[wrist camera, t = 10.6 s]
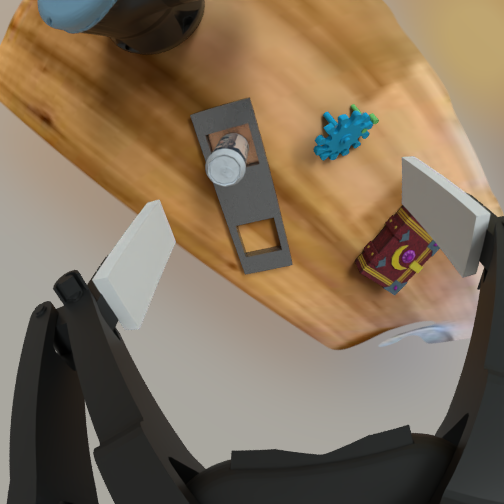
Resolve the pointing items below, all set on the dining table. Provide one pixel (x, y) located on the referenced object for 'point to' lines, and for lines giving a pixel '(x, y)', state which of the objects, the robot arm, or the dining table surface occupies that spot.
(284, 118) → the dining table surface
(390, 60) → the dining table surface
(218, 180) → the beer can
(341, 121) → the gear
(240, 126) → the rail
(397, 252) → the decorative book
